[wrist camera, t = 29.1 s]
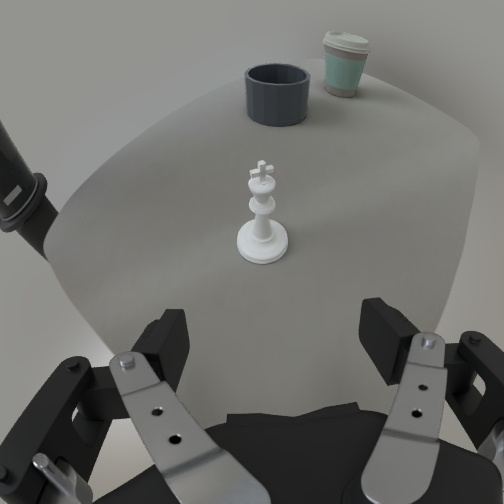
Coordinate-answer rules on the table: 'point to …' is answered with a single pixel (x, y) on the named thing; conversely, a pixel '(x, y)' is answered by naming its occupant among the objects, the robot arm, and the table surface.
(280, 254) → the chess piece
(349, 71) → the coffee cup
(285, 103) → the tumbler
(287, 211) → the table surface
